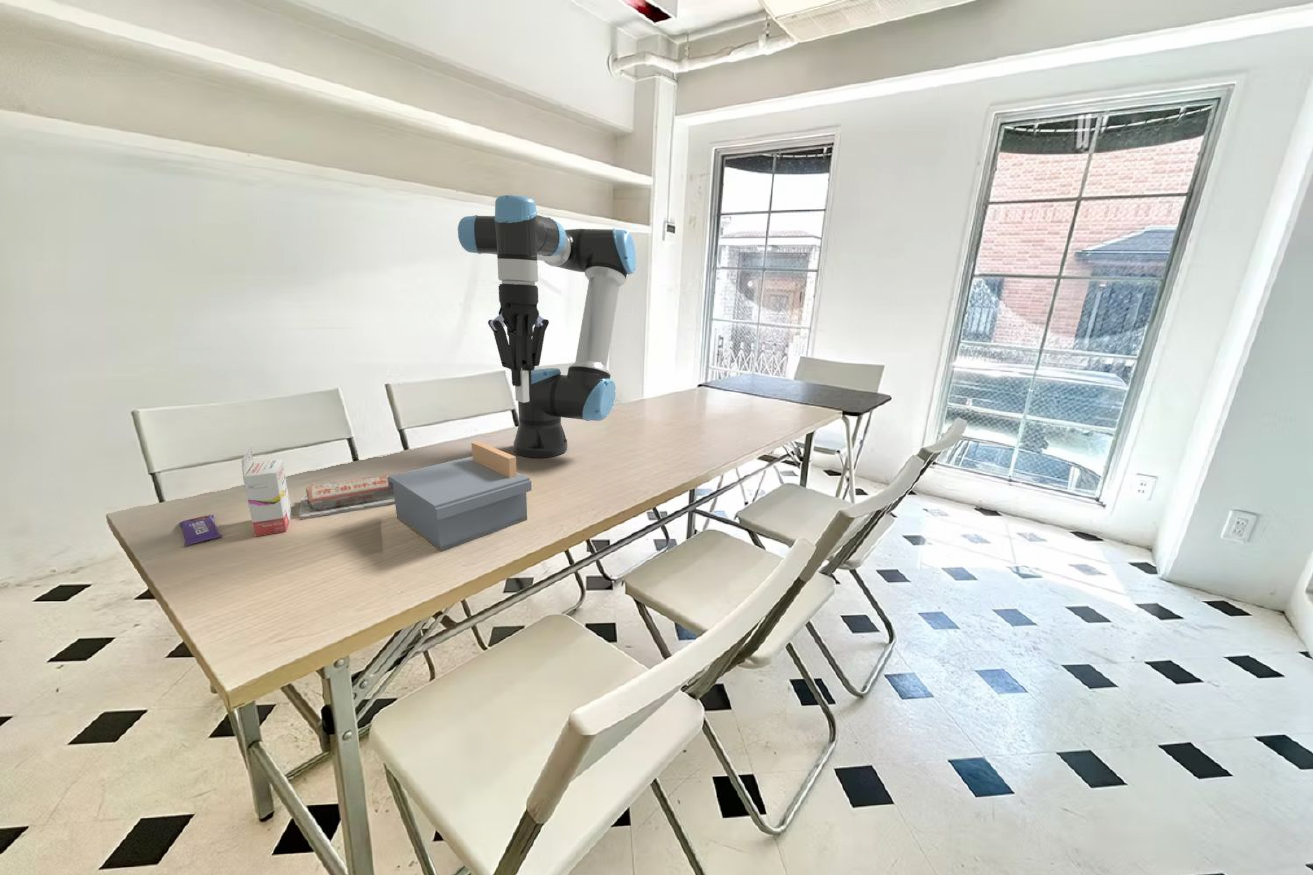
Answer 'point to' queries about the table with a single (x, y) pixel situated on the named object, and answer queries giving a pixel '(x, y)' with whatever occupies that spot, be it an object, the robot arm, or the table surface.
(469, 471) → the lid
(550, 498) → the table surface
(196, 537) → the snack package
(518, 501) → the open gray box
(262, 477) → the ink cartridge box
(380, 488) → the packaged product
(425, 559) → the table surface
